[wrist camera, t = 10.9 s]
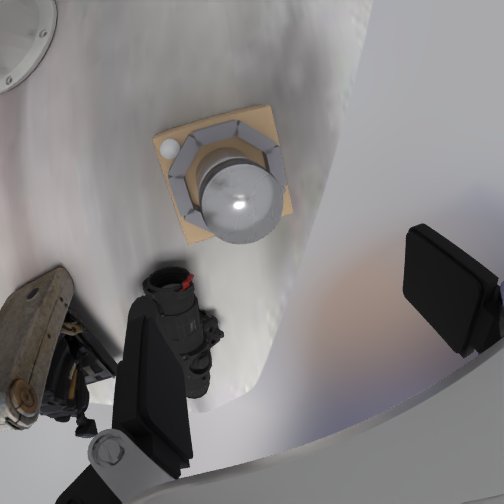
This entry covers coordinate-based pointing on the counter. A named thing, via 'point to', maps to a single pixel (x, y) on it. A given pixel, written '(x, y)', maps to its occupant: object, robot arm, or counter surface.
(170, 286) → the night vision scope
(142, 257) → the counter surface
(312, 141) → the counter surface
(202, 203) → the lens
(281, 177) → the mount
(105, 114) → the counter surface
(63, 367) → the vintage camera
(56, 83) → the counter surface
